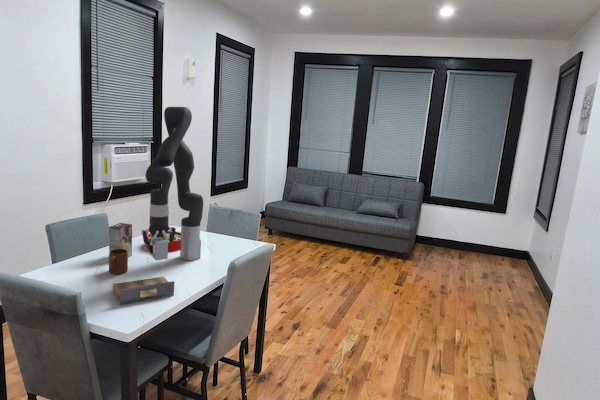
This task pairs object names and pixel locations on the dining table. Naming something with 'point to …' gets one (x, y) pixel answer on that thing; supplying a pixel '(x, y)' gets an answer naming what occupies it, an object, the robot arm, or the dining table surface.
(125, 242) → the coffee box
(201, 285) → the dining table surface
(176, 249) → the toy clock
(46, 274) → the dining table surface
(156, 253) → the carton
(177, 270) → the dining table surface
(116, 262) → the mug
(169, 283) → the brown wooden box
